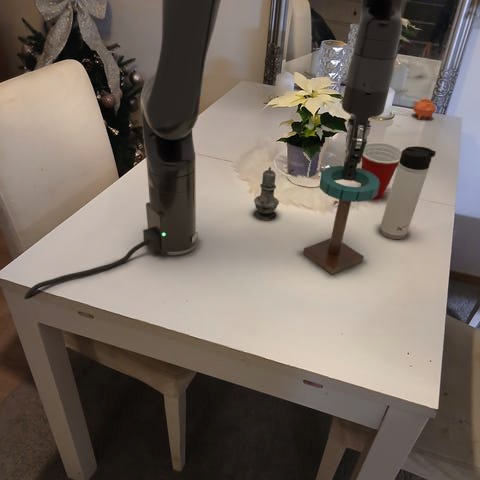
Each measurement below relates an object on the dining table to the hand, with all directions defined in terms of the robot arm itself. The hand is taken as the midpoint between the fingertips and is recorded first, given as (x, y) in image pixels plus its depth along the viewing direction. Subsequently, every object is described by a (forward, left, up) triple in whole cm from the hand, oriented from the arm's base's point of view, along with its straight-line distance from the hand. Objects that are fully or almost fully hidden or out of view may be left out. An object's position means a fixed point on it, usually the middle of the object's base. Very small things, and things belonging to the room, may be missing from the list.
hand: (347, 176), depth 95 cm
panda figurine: (+19, +29, -17) cm, 38 cm away
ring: (-3, -3, 0) cm, 4 cm away
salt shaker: (-4, +19, -17) cm, 25 cm away
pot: (+91, +46, -17) cm, 103 cm away
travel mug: (+17, -3, -17) cm, 24 cm away
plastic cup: (+27, +13, -17) cm, 34 cm away
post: (-3, -3, -16) cm, 17 cm away
